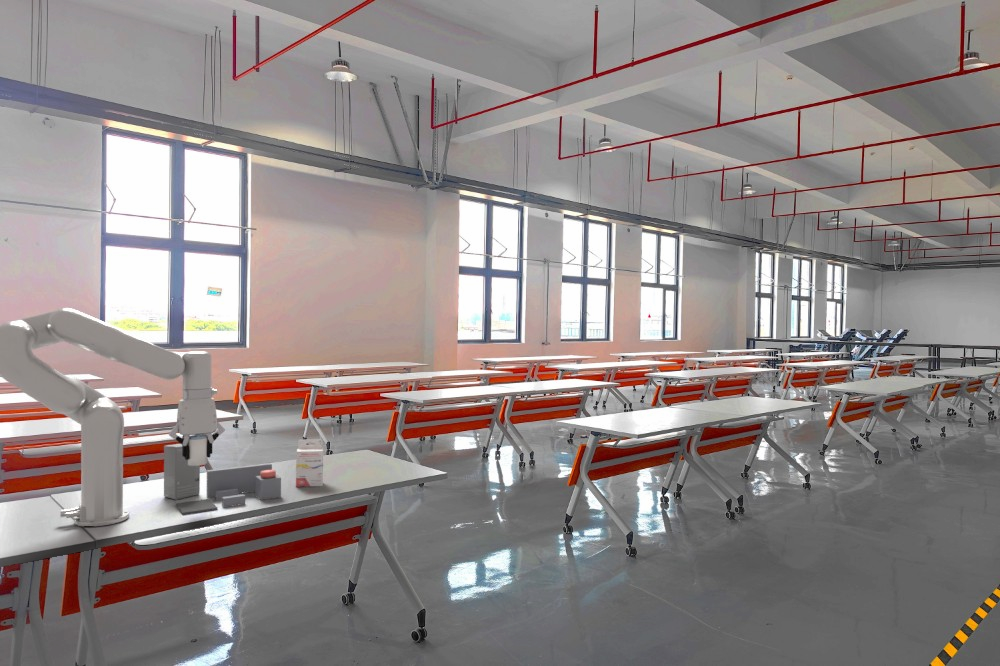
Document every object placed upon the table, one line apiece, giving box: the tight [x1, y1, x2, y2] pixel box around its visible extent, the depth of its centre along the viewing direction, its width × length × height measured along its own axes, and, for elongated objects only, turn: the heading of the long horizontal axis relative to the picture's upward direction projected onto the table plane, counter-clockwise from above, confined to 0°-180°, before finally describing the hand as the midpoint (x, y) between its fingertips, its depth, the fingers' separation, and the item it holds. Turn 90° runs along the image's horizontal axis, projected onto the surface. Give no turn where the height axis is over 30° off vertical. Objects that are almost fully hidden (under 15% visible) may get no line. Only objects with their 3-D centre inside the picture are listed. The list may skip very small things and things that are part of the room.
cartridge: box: [188, 434, 208, 466], centre depth 186 cm, size 5×5×8 cm
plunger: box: [261, 469, 277, 479], centre depth 199 cm, size 4×4×6 cm
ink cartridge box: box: [295, 438, 324, 488], centre depth 213 cm, size 9×5×15 cm, turn 105°
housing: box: [206, 462, 282, 508], centre depth 197 cm, size 19×15×8 cm
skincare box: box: [163, 443, 201, 501], centre depth 198 cm, size 8×7×16 cm
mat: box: [175, 498, 218, 516], centre depth 186 cm, size 9×11×1 cm
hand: (197, 457), depth 186 cm, fingers closed on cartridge, 5 cm apart
